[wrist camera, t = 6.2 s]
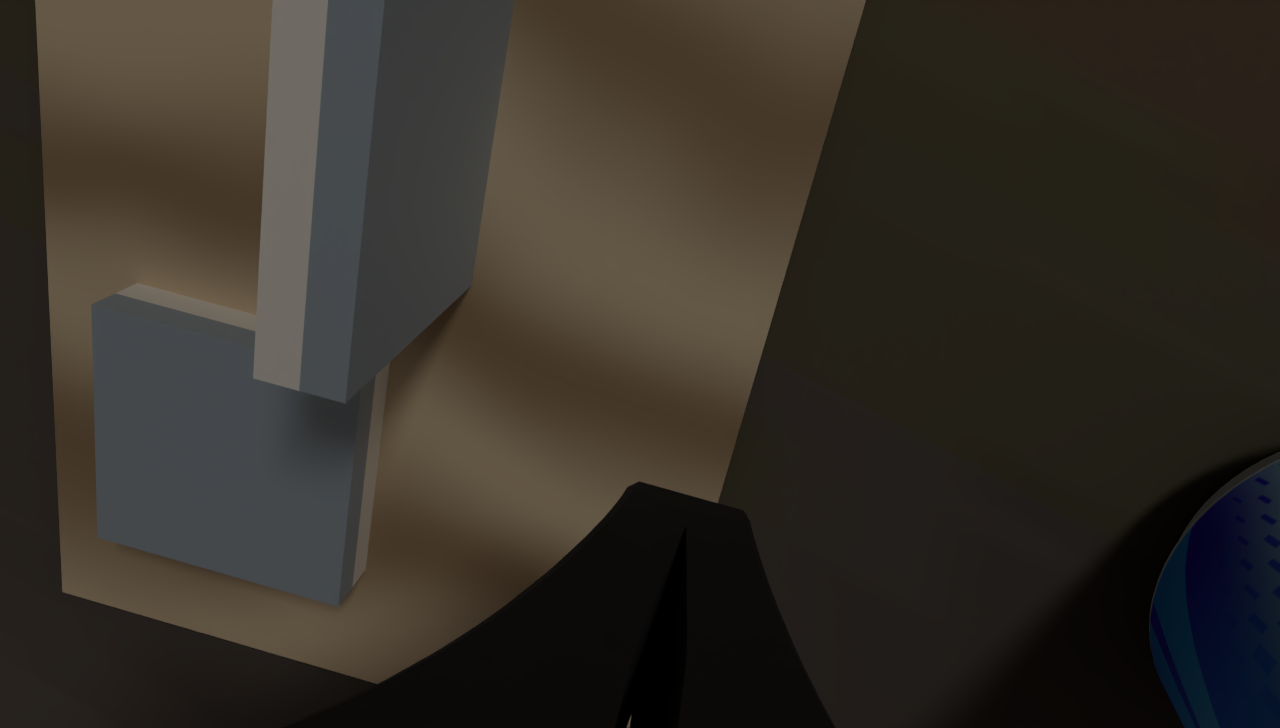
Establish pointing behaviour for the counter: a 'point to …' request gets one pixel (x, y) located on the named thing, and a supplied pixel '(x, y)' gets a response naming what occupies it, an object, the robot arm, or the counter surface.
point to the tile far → (227, 450)
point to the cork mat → (483, 315)
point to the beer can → (1224, 608)
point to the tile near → (371, 179)
